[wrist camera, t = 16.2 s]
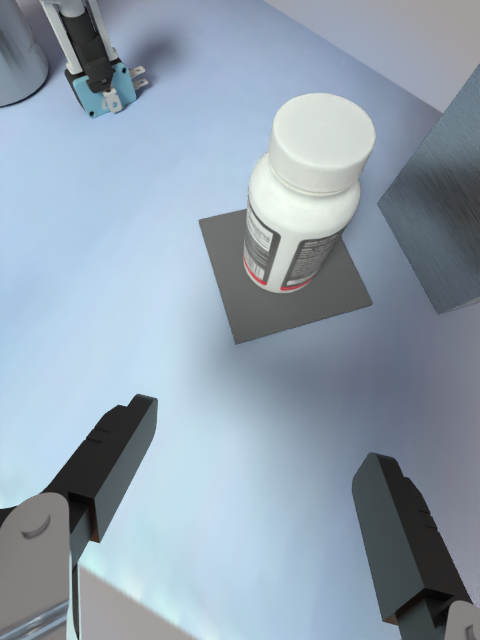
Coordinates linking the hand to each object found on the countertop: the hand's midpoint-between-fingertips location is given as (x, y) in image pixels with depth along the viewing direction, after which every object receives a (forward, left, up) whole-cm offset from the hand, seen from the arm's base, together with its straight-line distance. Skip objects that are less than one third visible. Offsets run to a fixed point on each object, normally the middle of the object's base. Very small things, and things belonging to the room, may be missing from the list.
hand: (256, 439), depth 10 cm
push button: (-3, +30, -7) cm, 31 cm away
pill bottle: (+6, +10, -6) cm, 13 cm away
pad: (+6, +10, -7) cm, 13 cm away
